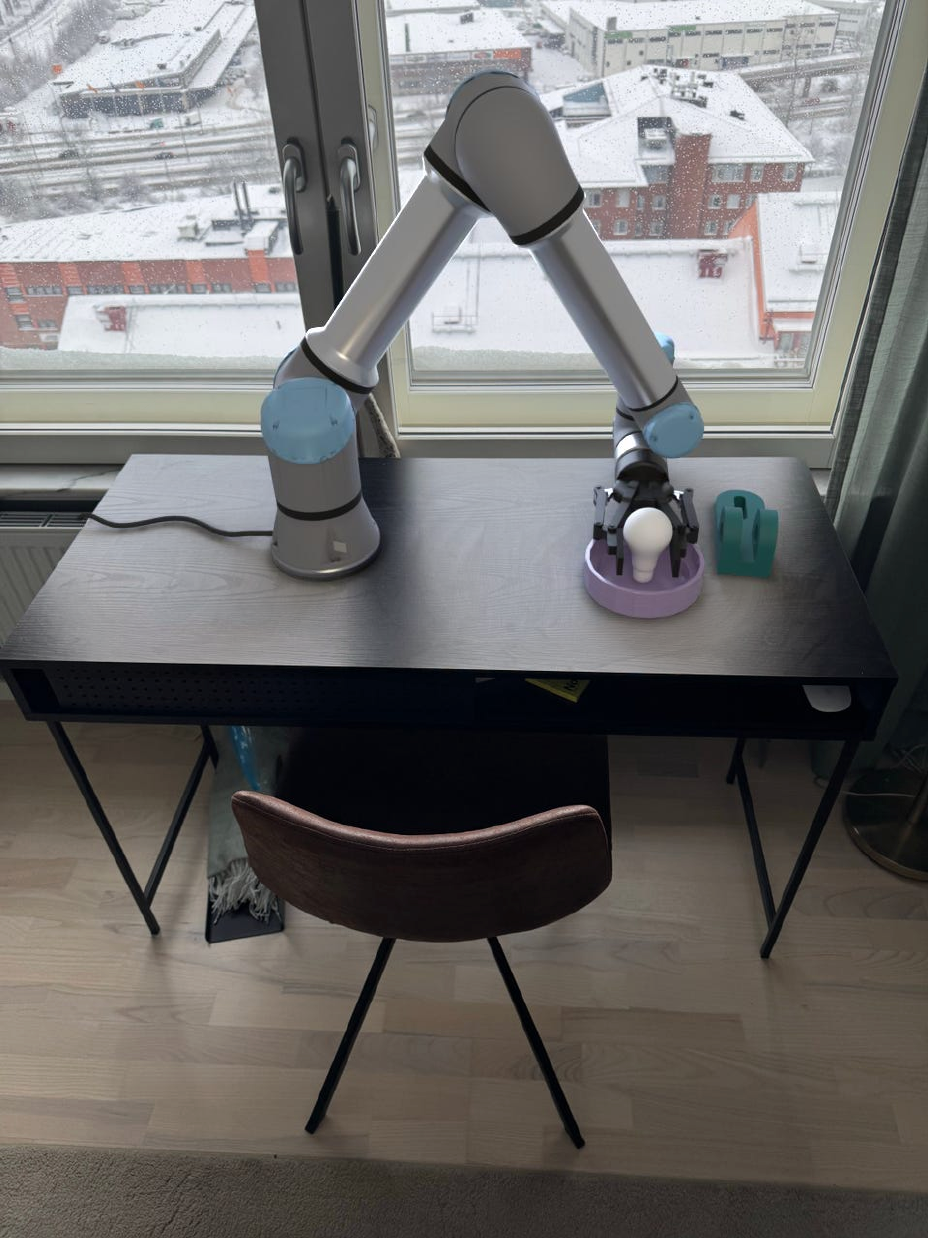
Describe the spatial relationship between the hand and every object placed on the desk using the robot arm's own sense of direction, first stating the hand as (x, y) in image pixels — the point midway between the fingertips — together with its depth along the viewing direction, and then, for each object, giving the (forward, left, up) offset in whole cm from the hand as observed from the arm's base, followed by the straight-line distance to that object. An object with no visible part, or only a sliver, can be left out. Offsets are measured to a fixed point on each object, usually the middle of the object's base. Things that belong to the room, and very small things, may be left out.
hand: (648, 567), depth 116 cm
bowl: (-2, +5, -7) cm, 8 cm away
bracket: (+7, +21, -7) cm, 23 cm away
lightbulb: (-2, +5, -6) cm, 8 cm away
